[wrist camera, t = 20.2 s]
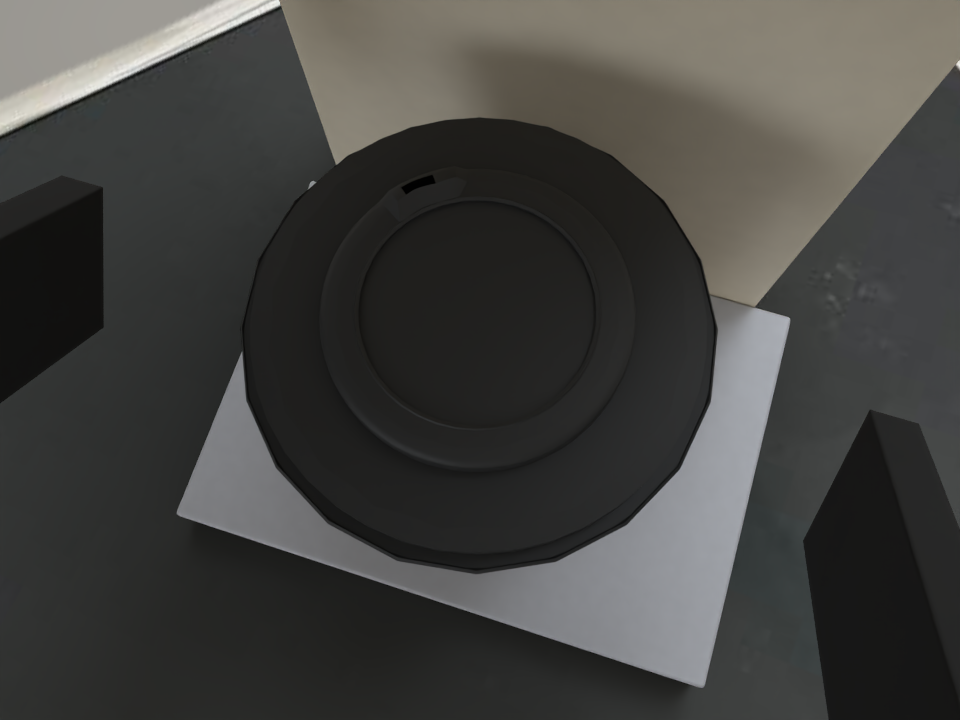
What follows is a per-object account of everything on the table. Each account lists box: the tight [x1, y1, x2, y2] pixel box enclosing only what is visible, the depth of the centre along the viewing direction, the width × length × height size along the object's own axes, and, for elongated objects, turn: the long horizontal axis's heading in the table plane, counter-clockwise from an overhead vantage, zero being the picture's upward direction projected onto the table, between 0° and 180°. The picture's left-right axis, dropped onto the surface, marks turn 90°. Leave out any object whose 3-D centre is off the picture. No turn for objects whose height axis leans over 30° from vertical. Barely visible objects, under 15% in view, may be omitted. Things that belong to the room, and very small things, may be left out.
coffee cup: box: [240, 117, 718, 574], centre depth 19 cm, size 8×8×10 cm
